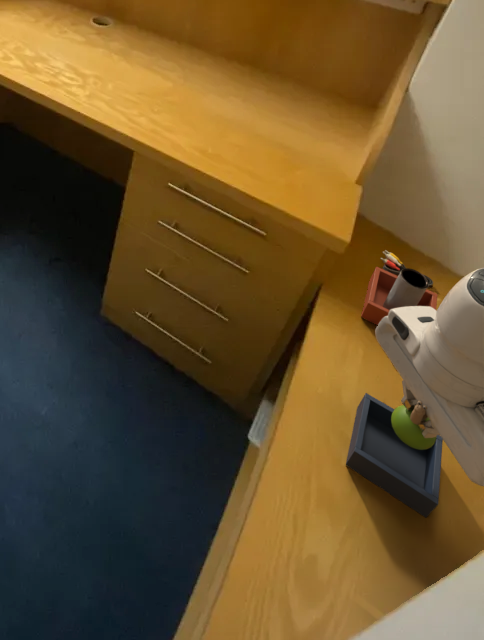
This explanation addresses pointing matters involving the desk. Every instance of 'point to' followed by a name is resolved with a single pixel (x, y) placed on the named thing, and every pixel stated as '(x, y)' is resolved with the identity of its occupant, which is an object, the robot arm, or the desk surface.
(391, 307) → the grey cylindrical cup
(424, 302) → the terracotta bin
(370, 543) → the desk surface
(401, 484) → the slate bin
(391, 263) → the composite cable
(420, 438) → the snail figurine
